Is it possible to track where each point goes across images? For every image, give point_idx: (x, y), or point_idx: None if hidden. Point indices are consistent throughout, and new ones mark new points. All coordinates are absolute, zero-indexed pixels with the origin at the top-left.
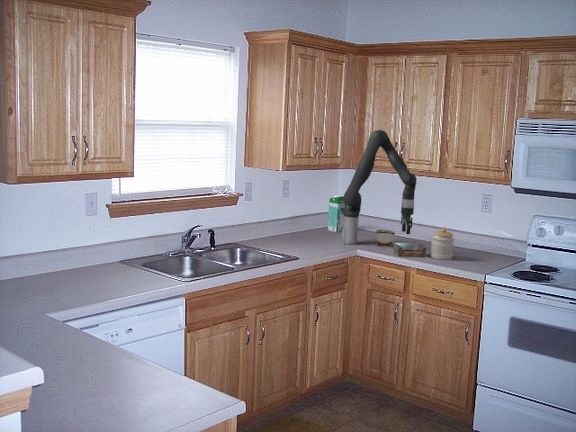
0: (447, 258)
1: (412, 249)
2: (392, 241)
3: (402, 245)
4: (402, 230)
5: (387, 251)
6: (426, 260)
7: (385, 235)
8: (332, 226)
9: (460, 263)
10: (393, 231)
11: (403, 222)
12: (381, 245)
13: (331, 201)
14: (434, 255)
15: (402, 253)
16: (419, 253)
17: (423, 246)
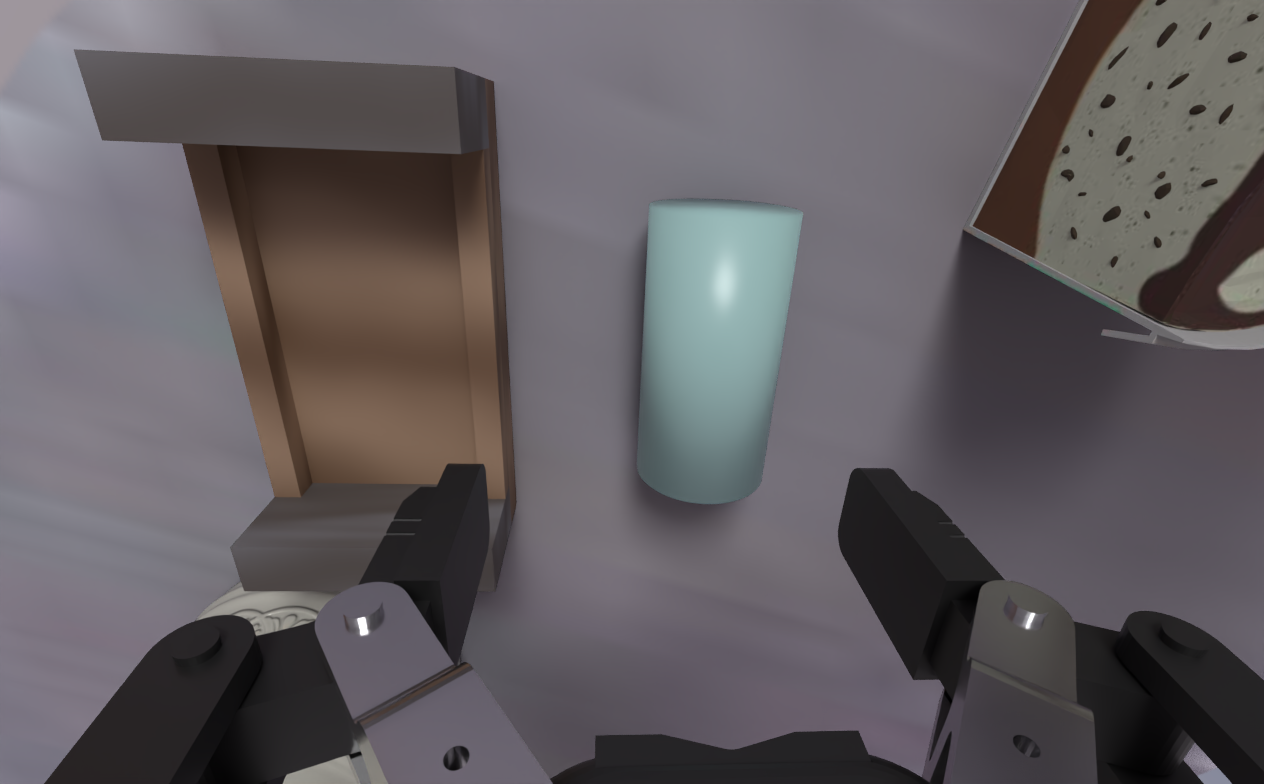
0: None
1: (501, 427)
2: (1028, 255)
3: (658, 325)
4: (868, 485)
5: (636, 8)
6: (80, 444)
7: (1229, 97)
8: None
9: (81, 732)
10: (1257, 340)
11: (955, 714)
12: (1076, 38)
13: None
14: (227, 598)
15: (198, 157)
16: (268, 447)
17: (356, 583)
